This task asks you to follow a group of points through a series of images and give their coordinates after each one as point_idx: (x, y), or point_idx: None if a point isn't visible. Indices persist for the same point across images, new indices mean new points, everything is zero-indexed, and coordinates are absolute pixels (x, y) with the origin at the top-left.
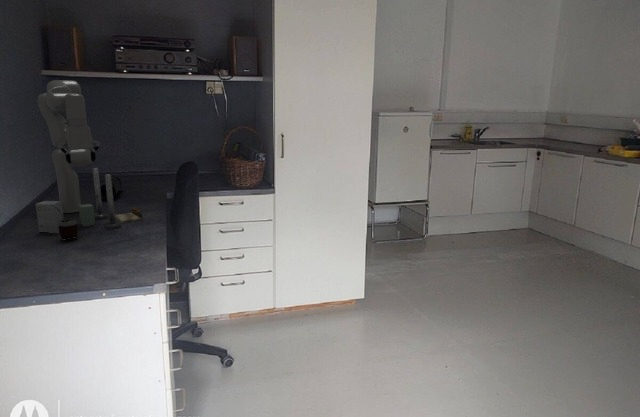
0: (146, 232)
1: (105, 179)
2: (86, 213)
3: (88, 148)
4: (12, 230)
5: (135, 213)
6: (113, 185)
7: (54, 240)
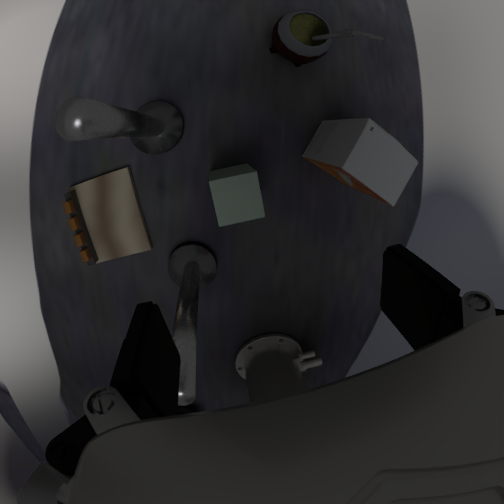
0: (80, 42)
1: (105, 112)
2: (237, 171)
3: (169, 416)
4: (409, 213)
5: (84, 228)
6: None
7: (329, 58)
